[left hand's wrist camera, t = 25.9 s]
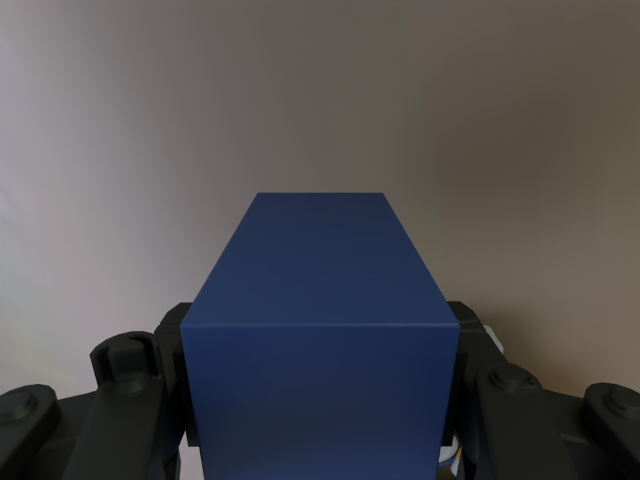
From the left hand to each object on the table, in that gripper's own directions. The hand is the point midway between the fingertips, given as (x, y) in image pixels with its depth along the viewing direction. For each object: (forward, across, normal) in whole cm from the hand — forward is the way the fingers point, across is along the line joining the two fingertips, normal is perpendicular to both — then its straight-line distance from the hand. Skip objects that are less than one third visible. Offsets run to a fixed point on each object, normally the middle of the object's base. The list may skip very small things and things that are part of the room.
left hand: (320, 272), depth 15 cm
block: (+1, 0, 0) cm, 1 cm away
